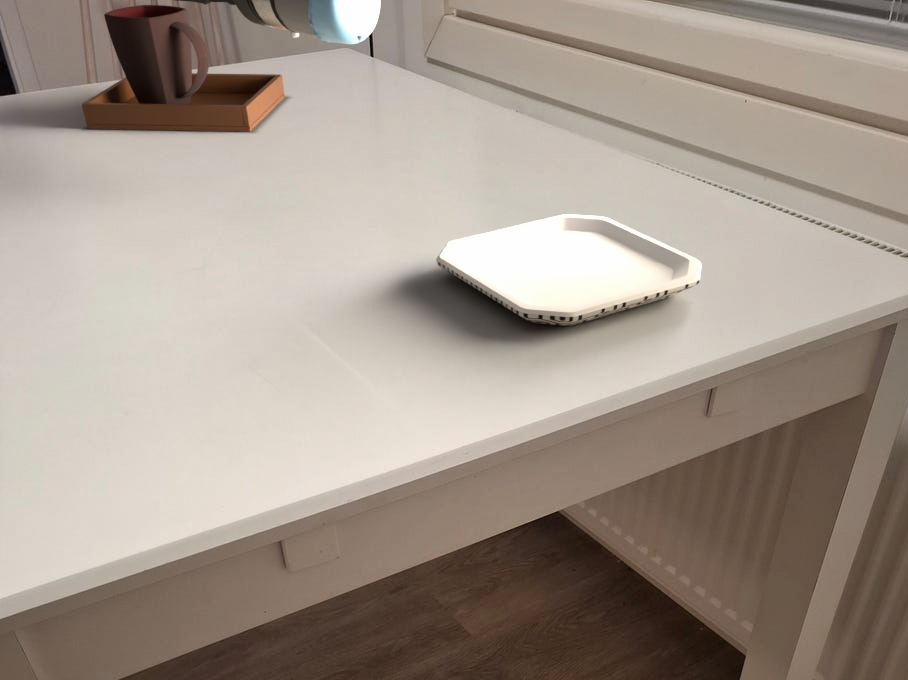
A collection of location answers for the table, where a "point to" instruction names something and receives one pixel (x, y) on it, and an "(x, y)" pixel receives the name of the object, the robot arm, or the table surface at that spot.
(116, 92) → the tray
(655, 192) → the table surface
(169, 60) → the cup
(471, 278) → the plate
